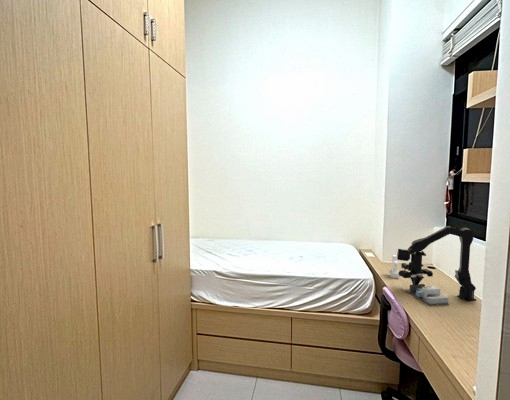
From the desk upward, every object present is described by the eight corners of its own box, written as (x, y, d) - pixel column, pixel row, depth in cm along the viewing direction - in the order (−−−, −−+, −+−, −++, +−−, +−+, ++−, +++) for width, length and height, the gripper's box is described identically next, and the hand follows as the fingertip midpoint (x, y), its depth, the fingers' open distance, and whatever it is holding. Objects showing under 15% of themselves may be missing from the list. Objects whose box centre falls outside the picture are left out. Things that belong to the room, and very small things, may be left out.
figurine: (389, 278, 193) (390, 256, 191) (387, 274, 202) (388, 253, 200) (401, 279, 190) (402, 257, 189) (398, 275, 199) (399, 254, 198)
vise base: (421, 289, 174) (421, 284, 173) (448, 304, 155) (448, 297, 154) (405, 291, 172) (405, 285, 172) (430, 305, 153) (430, 299, 152)
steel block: (434, 296, 162) (434, 285, 162) (439, 299, 158) (440, 288, 158) (421, 297, 161) (422, 286, 161) (426, 300, 157) (427, 289, 157)
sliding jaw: (424, 289, 171) (424, 283, 171) (436, 295, 163) (436, 289, 162) (407, 290, 170) (408, 285, 169) (419, 297, 161) (419, 291, 160)
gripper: (420, 257, 180) (419, 281, 181) (393, 258, 177) (392, 283, 178) (434, 262, 169) (432, 288, 170) (405, 264, 166) (404, 290, 167)
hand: (414, 287), depth 172 cm, fingers closed, pressing on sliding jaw
